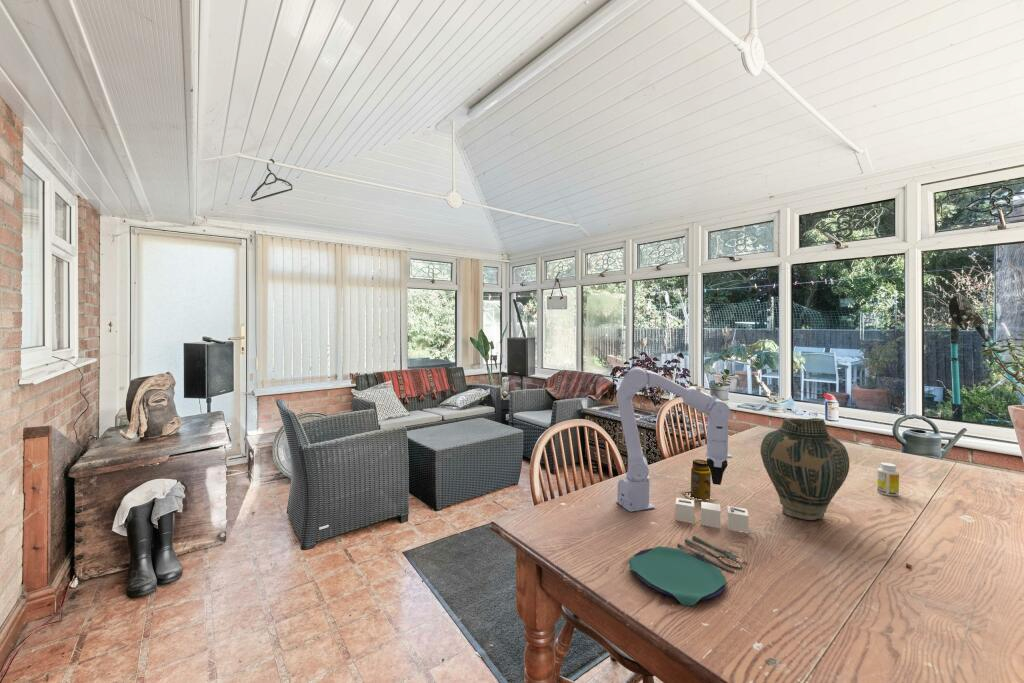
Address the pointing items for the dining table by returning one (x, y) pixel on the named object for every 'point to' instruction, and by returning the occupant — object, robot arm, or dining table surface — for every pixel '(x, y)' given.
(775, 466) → the vase
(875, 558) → the dining table surface
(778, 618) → the dining table surface
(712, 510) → the plain block
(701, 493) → the condiment
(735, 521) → the digit seven block
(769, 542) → the dining table surface
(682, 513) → the digit one block
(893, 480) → the supplement bottle
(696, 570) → the cutlery set
